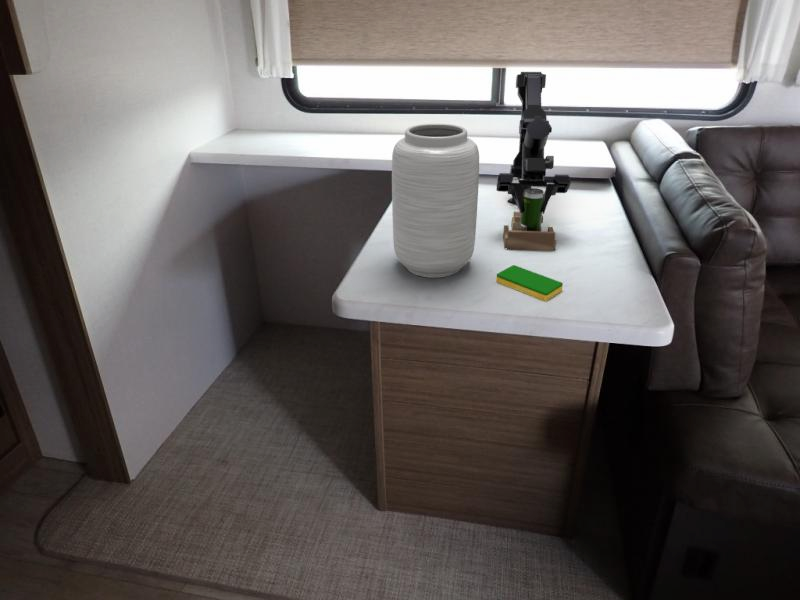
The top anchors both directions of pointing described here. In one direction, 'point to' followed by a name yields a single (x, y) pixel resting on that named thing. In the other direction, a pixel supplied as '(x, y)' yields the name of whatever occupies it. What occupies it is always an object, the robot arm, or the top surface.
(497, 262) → the top surface
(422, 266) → the vase
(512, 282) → the dish sponge
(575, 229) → the top surface
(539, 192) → the beer can
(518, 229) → the offcut stack
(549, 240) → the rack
